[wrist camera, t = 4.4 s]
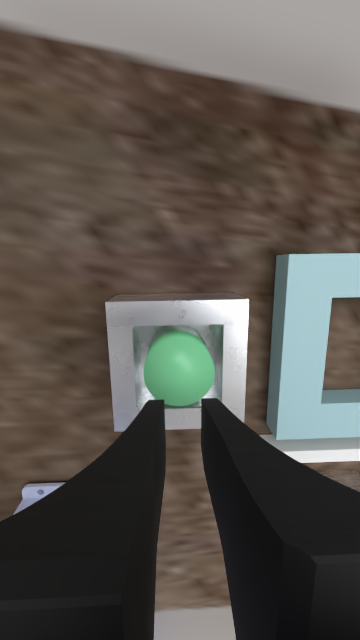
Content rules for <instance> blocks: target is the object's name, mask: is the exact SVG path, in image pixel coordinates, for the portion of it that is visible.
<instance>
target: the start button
mask: <svg viewBox="0 0 360 640" xmlns="http://www.w3.org/2000/svg"><path fill="white" fill-rule="evenodd" d="M143 376H144V382H145V385H146V387H147V389H148V390H149V392H150V393H151V394H152V395H153V396H154V397H155V398H156V399H157V400H163V399H164V403H165V404H167V405H171V406H186V405H190V404H193V403H195V402H197V401H198V400H200V399H201V398H203V397H204V396H205V395H206V394H207V393H208V391H209V390H210V388H211V386H212V384H213V381H214V377H215V368H214V363H213V360H212V358H211V356H210V353H209V351H208V349H207V347H206V344H205V342H204V340H203V338H202V337H201V335H200V334H199V333H198V332H197V331H195V330H194V329H192V328H190V327H188V326H184V325H172V326H168V327H165V328H163V329H162V330H160V331H159V332H158V333H157V334H156V335H155V336H154V337H153V339H152V341H151V343H150V346H149V349H148V353H147V357H146V361H145V364H144V370H143Z"/></svg>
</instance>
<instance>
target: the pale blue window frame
mask: <svg viewBox="0 0 360 640" xmlns="http://www.w3.org/2000/svg"><path fill="white" fill-rule="evenodd" d="M339 297H360V253H350V254H287V255H276V271H275V287H274V304H273V320H272V337H271V354H270V370H269V387H268V404H267V420H266V424H267V425H268V427H269V429H270V430H271V432H272V434H273V435H274V437H275V439H276V440H288V439H316V438H344V437H360V389H341V390H322V387H323V378H324V369H325V359H326V350H327V340H328V331H329V321H330V312H331V302H332V298H339Z"/></svg>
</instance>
